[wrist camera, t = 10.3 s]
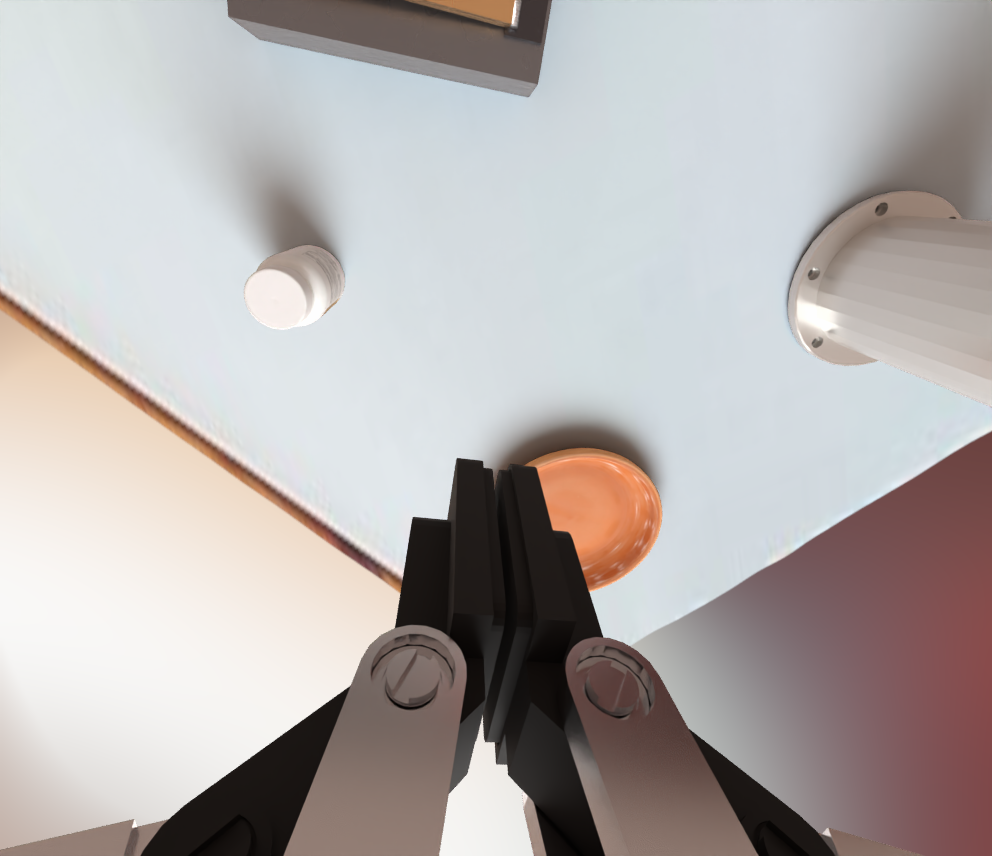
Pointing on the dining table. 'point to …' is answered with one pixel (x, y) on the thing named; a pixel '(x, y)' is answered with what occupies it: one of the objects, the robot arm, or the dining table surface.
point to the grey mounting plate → (408, 37)
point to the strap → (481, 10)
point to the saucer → (601, 509)
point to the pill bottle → (294, 287)
